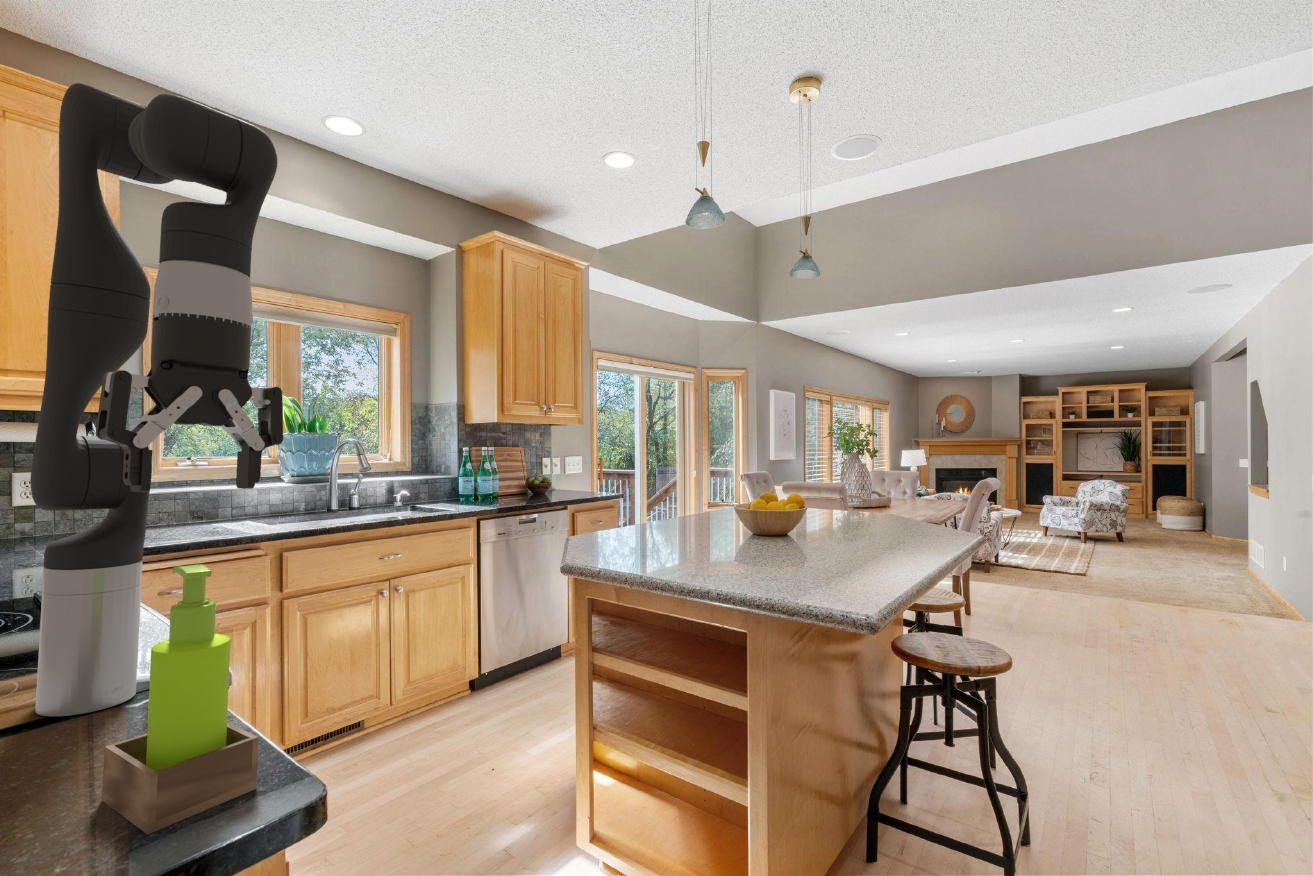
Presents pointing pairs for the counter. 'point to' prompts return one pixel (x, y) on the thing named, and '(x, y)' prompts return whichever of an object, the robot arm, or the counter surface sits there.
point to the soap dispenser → (188, 679)
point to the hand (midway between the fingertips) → (195, 489)
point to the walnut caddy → (177, 780)
